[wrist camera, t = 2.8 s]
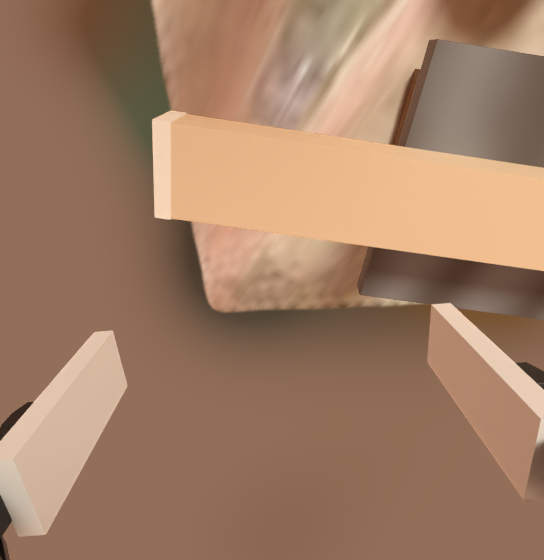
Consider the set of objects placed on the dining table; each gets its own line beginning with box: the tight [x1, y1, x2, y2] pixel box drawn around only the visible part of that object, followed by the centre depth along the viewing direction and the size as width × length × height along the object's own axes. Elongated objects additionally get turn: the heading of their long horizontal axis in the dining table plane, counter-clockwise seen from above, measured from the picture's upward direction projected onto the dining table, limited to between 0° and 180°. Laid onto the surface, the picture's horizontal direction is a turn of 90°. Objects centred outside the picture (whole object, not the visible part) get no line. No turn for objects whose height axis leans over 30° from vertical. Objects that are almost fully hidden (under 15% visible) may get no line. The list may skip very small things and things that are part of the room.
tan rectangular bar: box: [152, 110, 544, 271], centre depth 20 cm, size 34×5×3 cm, turn 82°
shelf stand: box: [357, 39, 544, 320], centre depth 34 cm, size 24×14×30 cm, turn 82°
